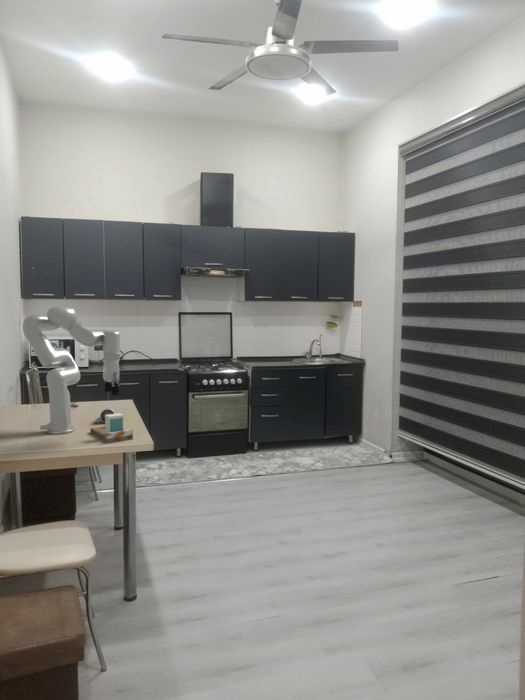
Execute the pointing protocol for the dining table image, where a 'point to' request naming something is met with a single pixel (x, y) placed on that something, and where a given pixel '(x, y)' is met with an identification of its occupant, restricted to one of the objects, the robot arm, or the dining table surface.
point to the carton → (114, 423)
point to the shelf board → (112, 435)
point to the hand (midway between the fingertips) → (111, 393)
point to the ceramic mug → (105, 412)
